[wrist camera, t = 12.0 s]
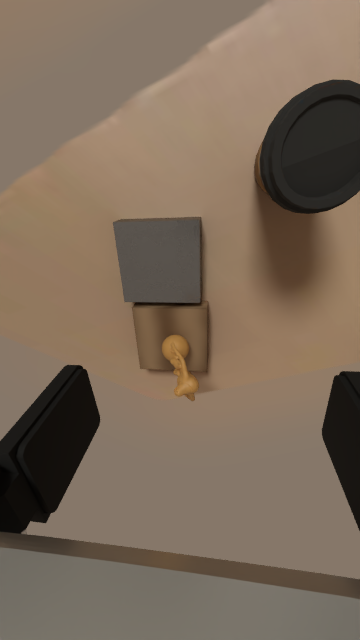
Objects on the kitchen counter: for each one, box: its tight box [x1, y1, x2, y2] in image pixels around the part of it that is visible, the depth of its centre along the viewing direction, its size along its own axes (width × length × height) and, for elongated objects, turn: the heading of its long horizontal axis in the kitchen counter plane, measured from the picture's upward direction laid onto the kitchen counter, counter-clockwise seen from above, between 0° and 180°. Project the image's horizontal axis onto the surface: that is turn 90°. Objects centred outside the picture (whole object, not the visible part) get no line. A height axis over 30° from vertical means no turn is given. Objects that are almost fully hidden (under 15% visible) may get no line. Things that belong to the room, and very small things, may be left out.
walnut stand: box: [132, 301, 208, 372], centre depth 42 cm, size 11×11×3 cm
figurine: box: [162, 335, 199, 401], centre depth 35 cm, size 8×6×12 cm
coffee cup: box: [254, 80, 360, 214], centre depth 25 cm, size 8×8×15 cm
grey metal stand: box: [113, 217, 201, 303], centre depth 37 cm, size 11×11×3 cm
